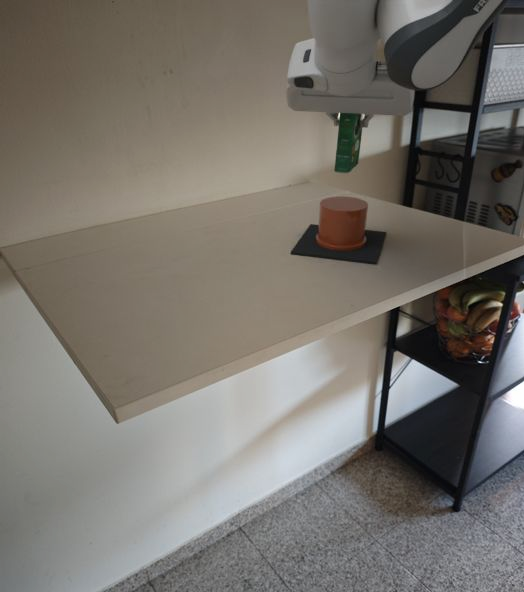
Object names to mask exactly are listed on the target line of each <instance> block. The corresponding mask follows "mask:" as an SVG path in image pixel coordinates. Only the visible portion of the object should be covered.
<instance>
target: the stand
mask: <svg viewBox="0 0 524 592" xmlns="http://www.w3.org/2000/svg"><path fill="white" fill-rule="evenodd" d="M368 209H369V204H368V201H366V200H364V199H361V198H358V197H354V196H353V197H352V196H331V197H325V198H323V199H321V200H320V203H319V213H318V225H319V228H318V234H317V235H316V243H317V244H318V245H320V246H321V247H324V248H327V249H331V250H338V251H350V250H356V249H359V248H362V247H363V246H364V245H365V244H366V237H365V230H366V228H367V219H368V212H369V211H368Z"/></svg>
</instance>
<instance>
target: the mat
mask: <svg viewBox="0 0 524 592" xmlns="http://www.w3.org/2000/svg"><path fill="white" fill-rule="evenodd" d="M318 228H319V224H315V223H310V224H309V226H308V227H307V229H306V230H305V231H304V233H303V234H302V235H301V237H300V238H299V240H298V241H297V242H296V244H295V245H294V246H293V247H292V249H291V251H290V255H294V256H303V257H311V258H318V259H319V258H320V259H329V260H336V261H344V262H353V263H361V264H370V265H377V263H378V260H379V258H380V254H381V251H382V248H383V245H384V242H385V239H386V235H387V231H381V230H371V229H365V237H366V244H365V245H364V246H363V247H362V248H359V249H356V250H350V251H338V250H331V249H327V248H324V247H321V246H320V245H318V244H317V243H316V235H317V234H318Z"/></svg>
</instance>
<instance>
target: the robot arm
mask: <svg viewBox="0 0 524 592" xmlns="http://www.w3.org/2000/svg"><path fill="white" fill-rule="evenodd" d="M511 1H512V0H306V3H307V5H306V6H307V14H308V15H307V16H308V23H309V29H310V33H311V35H312V37H311V38H308V39H306V40H302V41H299V42H297V43H295V45H294V47H293V49H292V53H291V56H290V59H289V63H288V68H287V75H286V82H287V84H286V87H285V88H286V90H285V96H286V97H285V98H286V103H287V107H288V108H289V109H290V110H292V111H294V112H311V113H325V115H326V116H327V117H329V119H331V120H332V121H333V126H334V127H339V119H340V113H353V114H360V118H359V127H362V128H364V129H365V128H368V127H369V123H370V121H371V120H372V118H374V116H375V115H378V116H400V117H404V116H405V117H406V116H408V114H410V113H411V112H412V110H413V106H414V101H415V92H416V91H430V90H433V89H435V88H438V87H440V86H442V85H444V84H445V83H446V82H448V81H449V80H450V79H452V77H453V76H455V75H456V73H458V71H459V70H460V69H461V68H462V67H463V65H464V64H465V62H466V61H467V60H468V57H469V56H470V55H471V53H472V51H473V49H474V48H475V46H476V45H477V43H478V42H479V40H481V37H482V36H483V35H484V34H485V32H486V31H487V30H488V28H490V26H491V25H492V24H493V22H494V21H495V20H496V19H497V18H498V16H500V14H501V13H502V12H503V11H504V9H505V8H507V6H508V5H509V4H510V2H511ZM380 40H381V43H382V47H383V55H384V61H380V60H379V61H378V42H379V41H380Z"/></svg>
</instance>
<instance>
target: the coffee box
mask: <svg viewBox="0 0 524 592" xmlns="http://www.w3.org/2000/svg"><path fill="white" fill-rule="evenodd" d="M359 118H360V114H353V113H340V119H339V126H338V131H337V142H336V149H335V150H336V151H335V160H334V173H337V174H349V173H350V172H352V170H353V169H354V168H355V167H357V165H358V164H359V161H360V160H359V159H360V152H361V143H362V135H363V127H359Z"/></svg>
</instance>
